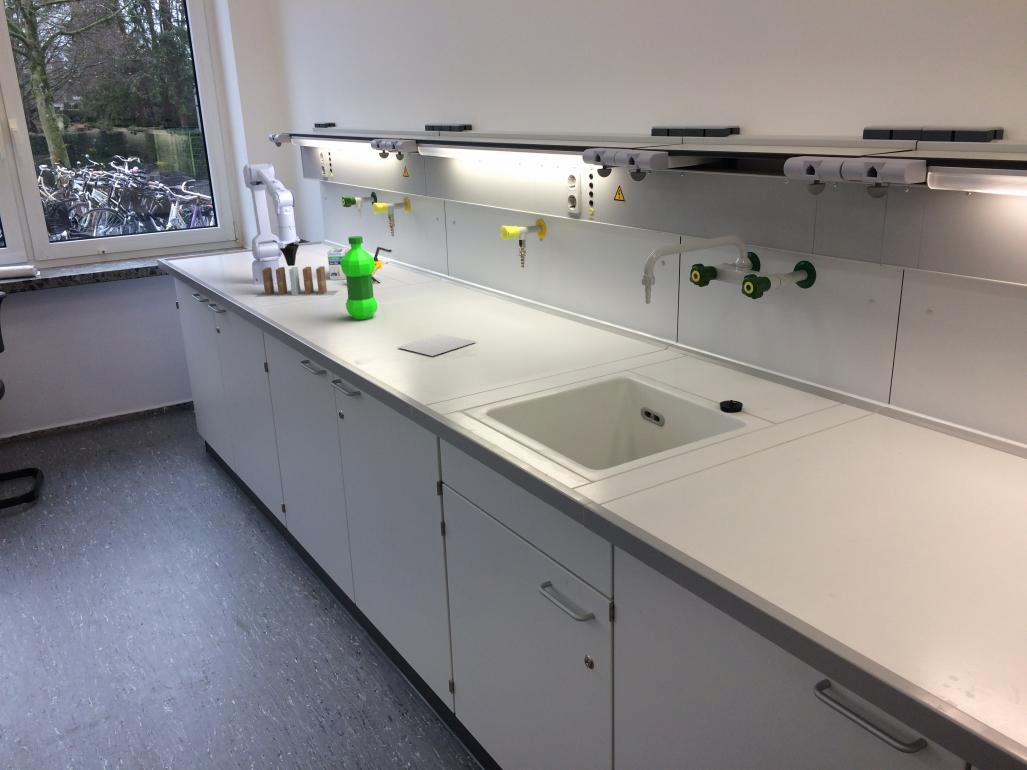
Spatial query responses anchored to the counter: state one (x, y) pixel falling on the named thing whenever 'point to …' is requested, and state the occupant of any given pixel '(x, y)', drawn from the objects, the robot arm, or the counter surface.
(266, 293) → the domino
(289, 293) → the rubber mat
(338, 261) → the light bulb box
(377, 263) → the robot dog
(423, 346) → the grey flat square plate
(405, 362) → the counter surface
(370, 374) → the counter surface
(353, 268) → the plastic bottle
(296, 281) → the grey domino
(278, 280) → the domino
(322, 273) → the domino
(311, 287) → the domino
